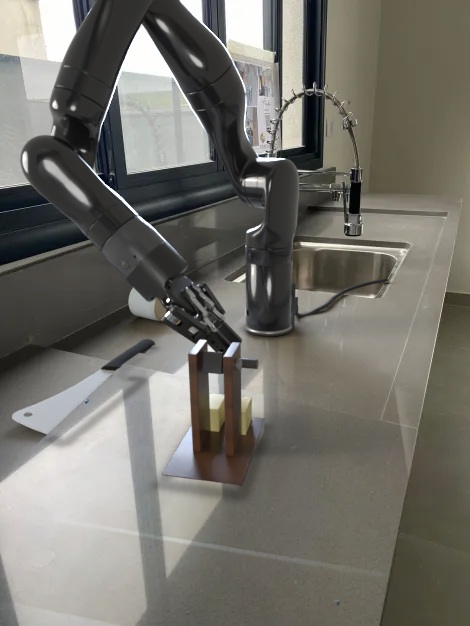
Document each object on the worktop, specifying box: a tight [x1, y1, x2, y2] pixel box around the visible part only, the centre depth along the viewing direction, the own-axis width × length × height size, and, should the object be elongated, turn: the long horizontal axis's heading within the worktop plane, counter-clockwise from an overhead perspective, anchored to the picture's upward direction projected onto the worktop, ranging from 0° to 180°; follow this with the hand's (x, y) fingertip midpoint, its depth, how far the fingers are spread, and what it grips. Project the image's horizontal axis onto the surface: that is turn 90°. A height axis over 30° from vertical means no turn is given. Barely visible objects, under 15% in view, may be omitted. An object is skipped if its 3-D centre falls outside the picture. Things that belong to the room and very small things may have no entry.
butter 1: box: [209, 392, 225, 432], centre depth 64 cm, size 4×2×3 cm, turn 167°
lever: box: [202, 350, 259, 375], centre depth 61 cm, size 13×6×2 cm, turn 167°
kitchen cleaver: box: [11, 338, 156, 435], centre depth 78 cm, size 31×2×10 cm
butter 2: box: [241, 395, 253, 435], centre depth 63 cm, size 4×2×3 cm, turn 167°
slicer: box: [161, 340, 265, 486], centre depth 58 cm, size 14×9×14 cm, turn 167°
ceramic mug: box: [128, 287, 166, 322], centre depth 109 cm, size 11×8×8 cm
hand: (234, 350), depth 67 cm, fingers open, 3 cm apart
